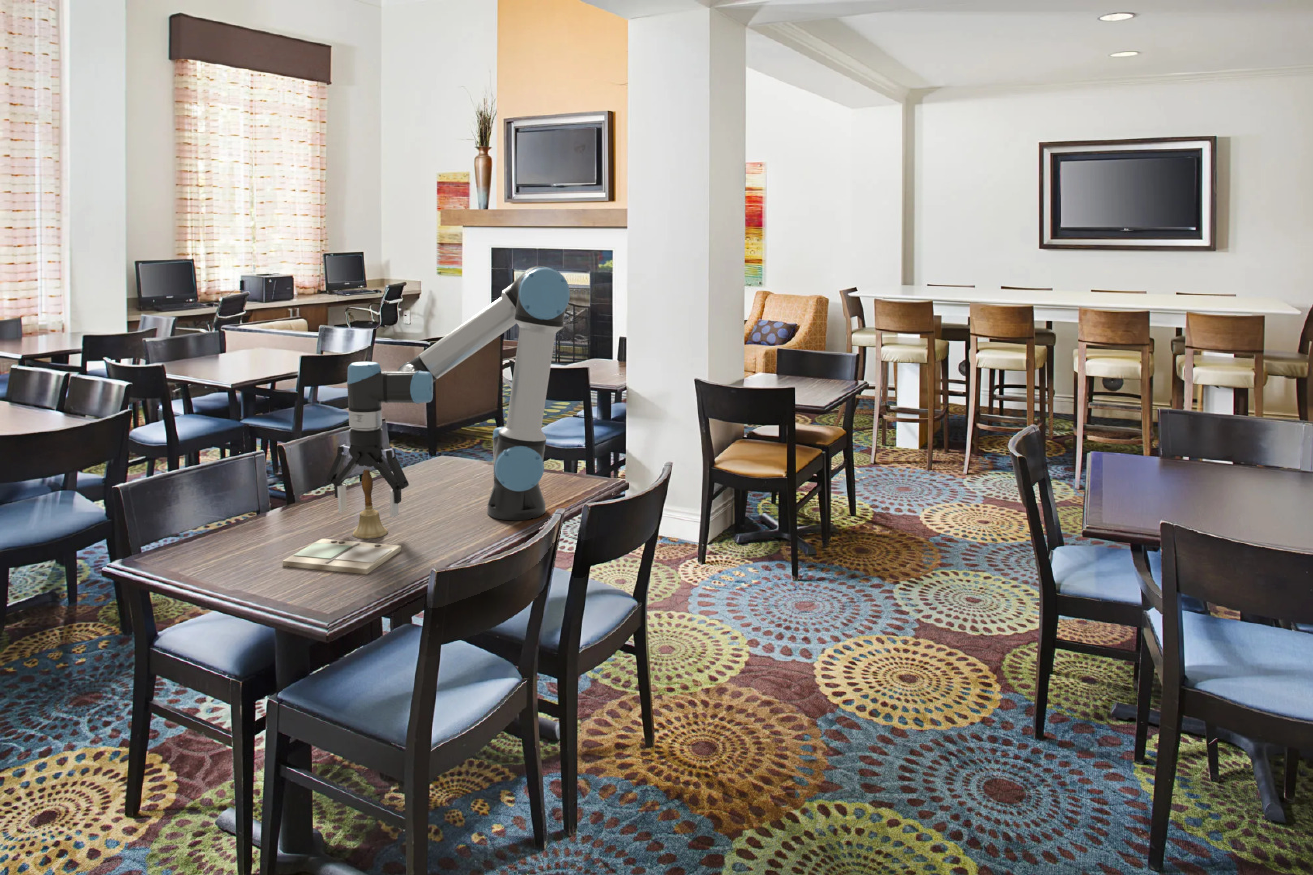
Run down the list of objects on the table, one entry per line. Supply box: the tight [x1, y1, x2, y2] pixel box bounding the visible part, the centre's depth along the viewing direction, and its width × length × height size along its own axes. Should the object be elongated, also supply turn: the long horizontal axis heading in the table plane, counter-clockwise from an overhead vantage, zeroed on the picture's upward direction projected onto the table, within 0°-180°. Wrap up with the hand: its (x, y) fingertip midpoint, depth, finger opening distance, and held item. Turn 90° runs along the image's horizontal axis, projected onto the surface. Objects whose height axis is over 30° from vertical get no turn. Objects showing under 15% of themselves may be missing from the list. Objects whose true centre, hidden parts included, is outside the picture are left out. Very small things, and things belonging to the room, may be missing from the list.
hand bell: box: [352, 468, 389, 540], centre depth 231 cm, size 8×8×16 cm
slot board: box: [281, 538, 402, 575], centre depth 215 cm, size 20×16×1 cm
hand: (368, 513), depth 232 cm, fingers open, 13 cm apart
